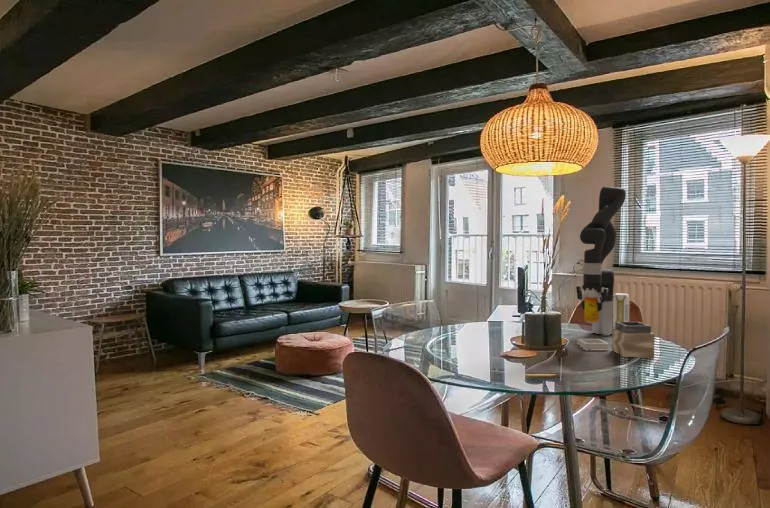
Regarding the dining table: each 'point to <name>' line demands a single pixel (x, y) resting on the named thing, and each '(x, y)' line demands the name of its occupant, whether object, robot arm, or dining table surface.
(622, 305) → the juice carton
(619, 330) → the stand
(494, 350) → the dining table surface
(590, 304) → the beer can
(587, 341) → the low collar
